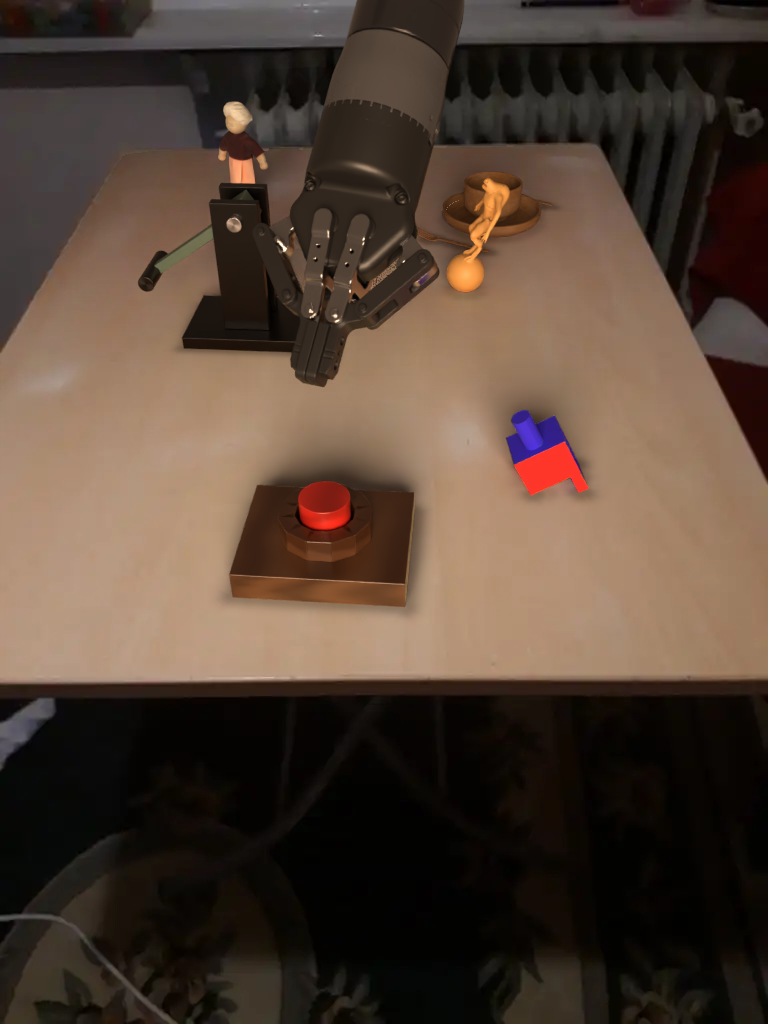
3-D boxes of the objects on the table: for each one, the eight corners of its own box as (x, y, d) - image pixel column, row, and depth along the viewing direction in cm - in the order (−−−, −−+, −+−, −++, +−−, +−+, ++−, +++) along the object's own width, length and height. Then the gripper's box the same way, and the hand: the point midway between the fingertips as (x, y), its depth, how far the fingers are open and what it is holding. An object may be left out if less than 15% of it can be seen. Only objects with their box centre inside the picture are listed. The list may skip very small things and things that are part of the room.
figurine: (443, 273, 104) (447, 163, 97) (498, 272, 104) (506, 163, 97) (448, 308, 98) (452, 194, 90) (506, 307, 98) (515, 193, 90)
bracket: (183, 348, 92) (160, 210, 83) (205, 305, 99) (186, 173, 90) (305, 353, 91) (295, 214, 82) (318, 309, 98) (310, 176, 89)
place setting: (504, 258, 107) (508, 208, 103) (354, 224, 115) (352, 175, 111) (563, 206, 119) (568, 159, 115) (423, 178, 127) (424, 133, 123)
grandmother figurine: (211, 208, 119) (198, 102, 111) (227, 197, 122) (215, 93, 114) (265, 217, 117) (256, 110, 109) (280, 206, 120) (271, 100, 112)
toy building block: (530, 482, 78) (491, 412, 73) (578, 461, 77) (541, 388, 72) (539, 510, 75) (499, 438, 70) (589, 488, 74) (551, 414, 69)
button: (296, 531, 65) (294, 511, 64) (304, 498, 68) (302, 479, 67) (347, 533, 65) (347, 514, 64) (353, 501, 68) (352, 481, 67)
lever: (148, 298, 91) (131, 278, 89) (165, 270, 95) (148, 251, 94) (254, 228, 85) (237, 206, 84) (266, 202, 90) (250, 181, 89)
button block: (232, 597, 66) (225, 554, 63) (259, 506, 73) (254, 465, 71) (405, 607, 65) (405, 564, 62) (414, 514, 72) (415, 472, 70)
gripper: (265, 84, 60) (192, 346, 59) (466, 106, 56) (392, 387, 55) (305, 143, 67) (241, 378, 66) (485, 167, 63) (420, 416, 62)
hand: (310, 382), depth 60 cm, fingers closed
